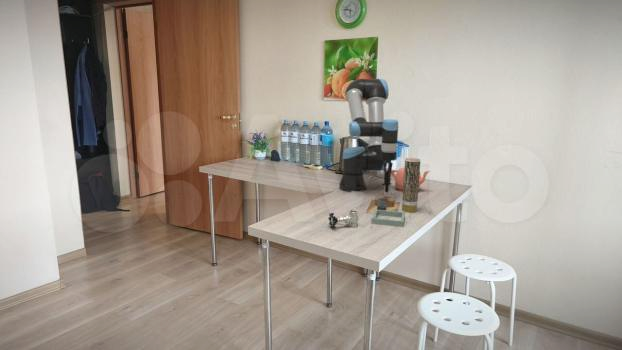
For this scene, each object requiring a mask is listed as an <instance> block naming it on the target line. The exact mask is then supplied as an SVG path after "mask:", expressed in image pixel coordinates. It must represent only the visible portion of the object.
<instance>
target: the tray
mask: <svg viewBox="0 0 622 350" xmlns="http://www.w3.org/2000/svg"><path fill="white" fill-rule="evenodd" d="M378 216H381V217H382V216H384V217H393V218H400V220H397V219H387V218H379V217H378ZM405 216H406V212H404V211H398V212H397V211H386V210H376V209H375V212H374V214H372V216H371V220H370V222H371V225H372V224H373V225H383V226H389V227H390V226H392V227H401V228H402V227H404V222H405V218H406V217H405ZM377 217H378V218H377Z"/></svg>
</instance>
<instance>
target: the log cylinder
mask: <svg viewBox="0 0 622 350" xmlns="http://www.w3.org/2000/svg"><path fill="white" fill-rule="evenodd" d="M403 168H404V184H403V191H402V200H401V201H402V203H401V212H405V213H410V214H413V213H416V212H418V211H417V210H418V209H417V208H418V200H419V189H418V187H419V174H421V159H420V158H415V157H414V158H413V157H408V158H405V159H404V167H403ZM419 188H420V187H419Z"/></svg>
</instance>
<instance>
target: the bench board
mask: <svg viewBox="0 0 622 350" xmlns="http://www.w3.org/2000/svg"><path fill="white" fill-rule="evenodd" d="M400 204H401V202H399V201H395V204H394V207H387V210H386V211H397V212H399V208H400ZM374 205H375V199H371V201H370V203H369V204H368V207H367V209H366V211H365V214H372V215H373V214H374V212H375V209H376V210H377V206H374Z"/></svg>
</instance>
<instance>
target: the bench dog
mask: <svg viewBox="0 0 622 350" xmlns="http://www.w3.org/2000/svg"><path fill="white" fill-rule="evenodd" d="M377 210H387V199H379V198H378V200H377Z"/></svg>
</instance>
